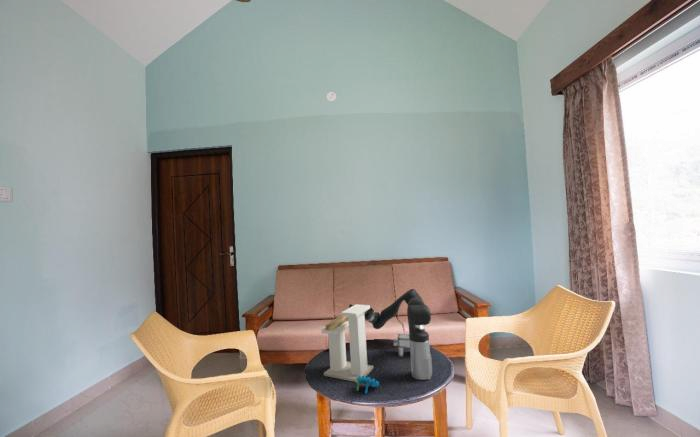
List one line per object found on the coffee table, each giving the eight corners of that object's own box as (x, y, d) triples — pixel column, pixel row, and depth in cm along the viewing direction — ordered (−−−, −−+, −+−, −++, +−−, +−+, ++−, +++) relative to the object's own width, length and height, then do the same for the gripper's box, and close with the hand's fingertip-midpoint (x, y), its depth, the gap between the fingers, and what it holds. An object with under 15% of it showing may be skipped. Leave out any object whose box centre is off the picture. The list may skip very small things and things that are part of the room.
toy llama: (395, 351, 177) (392, 316, 178) (426, 352, 173) (423, 316, 174) (394, 356, 169) (391, 320, 170) (426, 357, 166) (424, 320, 167)
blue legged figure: (383, 384, 137) (373, 374, 132) (380, 398, 133) (370, 389, 127) (362, 382, 142) (351, 373, 137) (359, 396, 138) (348, 387, 133)
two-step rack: (373, 368, 157) (369, 305, 158) (360, 382, 143) (356, 313, 144) (339, 362, 166) (336, 302, 167) (323, 375, 152) (320, 310, 153)
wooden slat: (353, 316, 172) (353, 311, 173) (331, 330, 150) (330, 324, 150) (349, 316, 174) (348, 310, 174) (325, 330, 152) (325, 324, 152)
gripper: (358, 307, 196) (346, 299, 184) (378, 308, 190) (368, 300, 178) (355, 319, 193) (344, 311, 181) (376, 320, 186) (366, 313, 174)
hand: (356, 306), depth 179 cm, fingers open, 8 cm apart
